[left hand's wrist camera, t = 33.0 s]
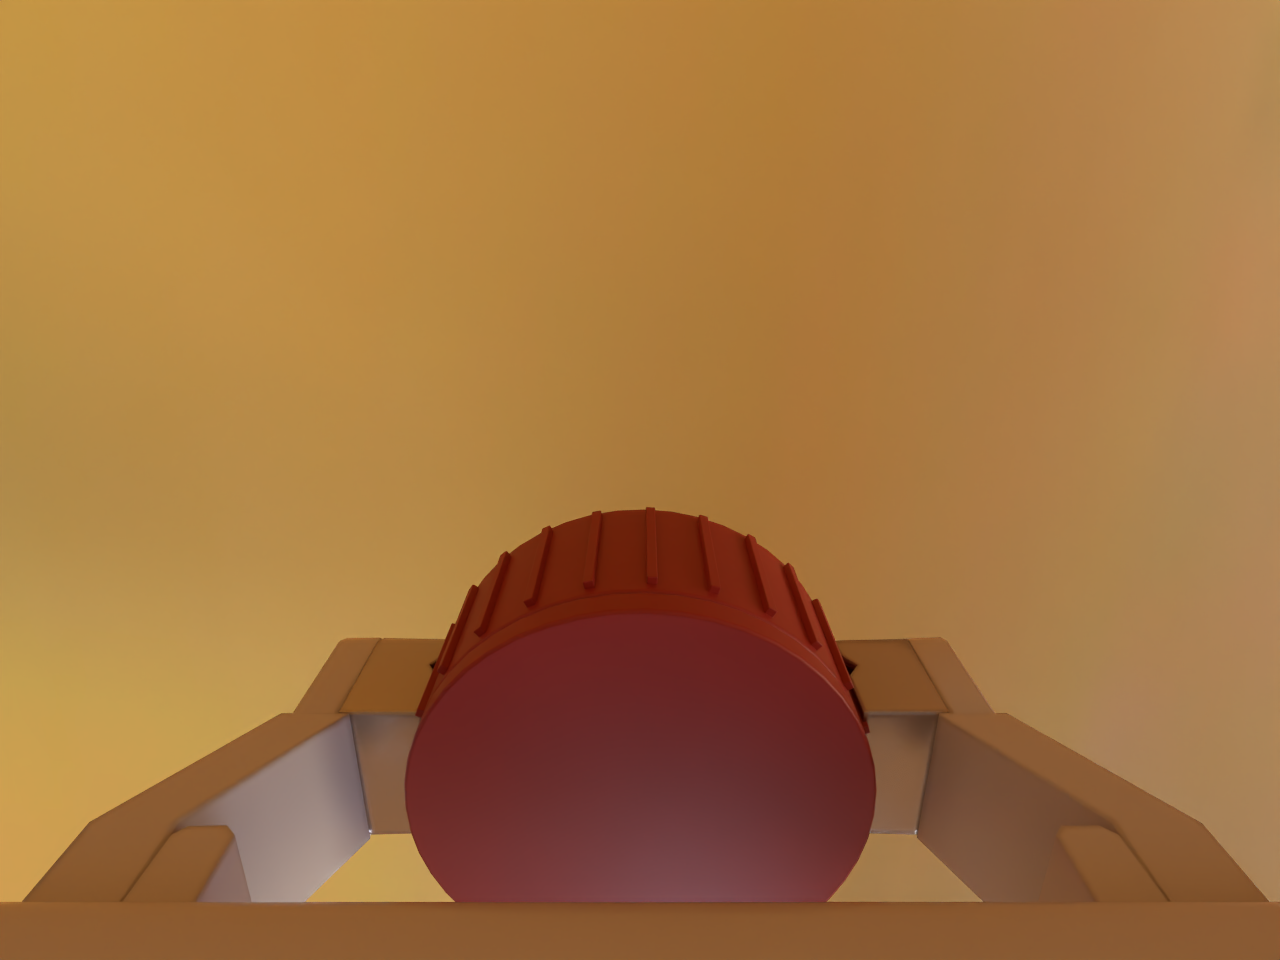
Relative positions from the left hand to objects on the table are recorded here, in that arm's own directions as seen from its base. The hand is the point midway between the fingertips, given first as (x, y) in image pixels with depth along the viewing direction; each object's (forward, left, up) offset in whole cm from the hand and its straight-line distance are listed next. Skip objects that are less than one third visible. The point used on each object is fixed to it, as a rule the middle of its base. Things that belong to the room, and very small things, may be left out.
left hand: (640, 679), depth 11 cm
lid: (0, 0, +2) cm, 2 cm away
